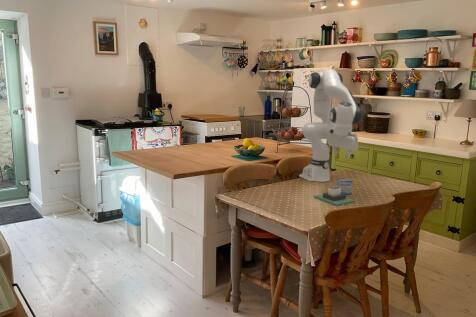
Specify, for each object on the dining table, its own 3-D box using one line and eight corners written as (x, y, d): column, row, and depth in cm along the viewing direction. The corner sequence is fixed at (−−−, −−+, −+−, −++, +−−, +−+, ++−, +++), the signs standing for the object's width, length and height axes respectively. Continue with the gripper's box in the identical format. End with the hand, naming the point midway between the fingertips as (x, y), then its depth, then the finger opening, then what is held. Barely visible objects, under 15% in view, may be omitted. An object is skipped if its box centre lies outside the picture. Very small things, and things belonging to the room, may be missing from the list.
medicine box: (339, 195, 231) (340, 181, 229) (336, 193, 235) (336, 179, 233) (351, 194, 232) (352, 180, 230) (348, 192, 236) (349, 178, 235)
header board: (313, 197, 225) (314, 191, 225) (331, 194, 232) (332, 188, 232) (336, 206, 210) (336, 199, 210) (354, 202, 217) (355, 196, 217)
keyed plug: (327, 197, 221) (328, 186, 220) (335, 196, 224) (336, 185, 223) (332, 199, 218) (333, 188, 217) (340, 198, 221) (341, 186, 220)
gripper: (361, 134, 211) (359, 158, 214) (334, 128, 228) (333, 152, 231) (353, 134, 208) (351, 160, 211) (326, 129, 225) (325, 153, 228)
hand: (341, 155), depth 221 cm, fingers open, 8 cm apart
